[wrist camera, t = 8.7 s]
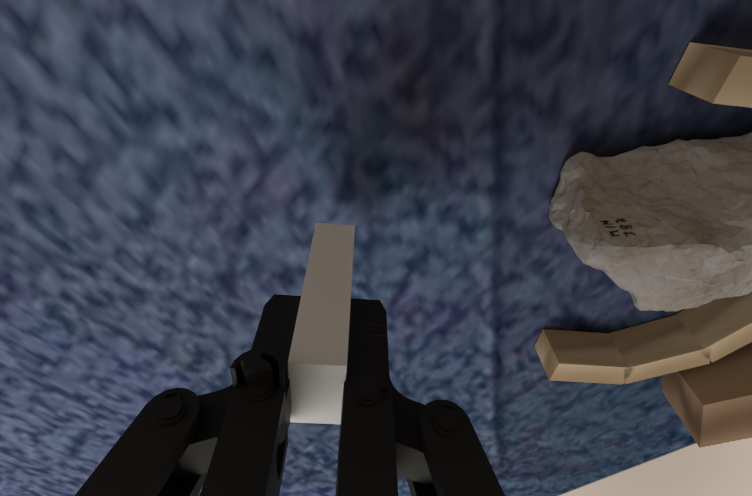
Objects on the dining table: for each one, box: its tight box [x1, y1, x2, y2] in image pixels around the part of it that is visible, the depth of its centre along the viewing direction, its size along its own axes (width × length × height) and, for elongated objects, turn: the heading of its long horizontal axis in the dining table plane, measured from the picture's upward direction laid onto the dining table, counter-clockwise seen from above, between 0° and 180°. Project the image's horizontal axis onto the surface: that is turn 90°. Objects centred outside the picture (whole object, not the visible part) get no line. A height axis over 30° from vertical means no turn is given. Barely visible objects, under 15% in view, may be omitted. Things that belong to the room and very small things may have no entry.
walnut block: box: [662, 342, 752, 447], centre depth 24 cm, size 5×5×4 cm
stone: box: [549, 132, 752, 312], centre depth 17 cm, size 8×10×6 cm
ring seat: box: [535, 42, 752, 384], centre depth 19 cm, size 17×11×2 cm, turn 174°
